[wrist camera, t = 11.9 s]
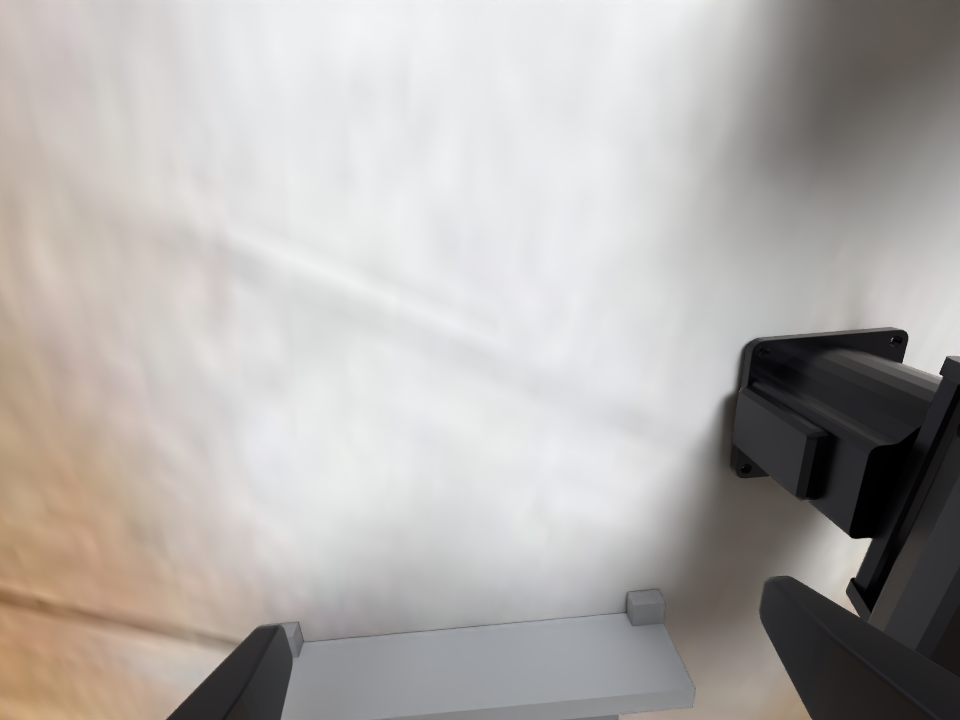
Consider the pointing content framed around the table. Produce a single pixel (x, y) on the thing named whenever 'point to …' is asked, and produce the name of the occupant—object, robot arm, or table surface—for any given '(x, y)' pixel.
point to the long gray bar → (495, 670)
